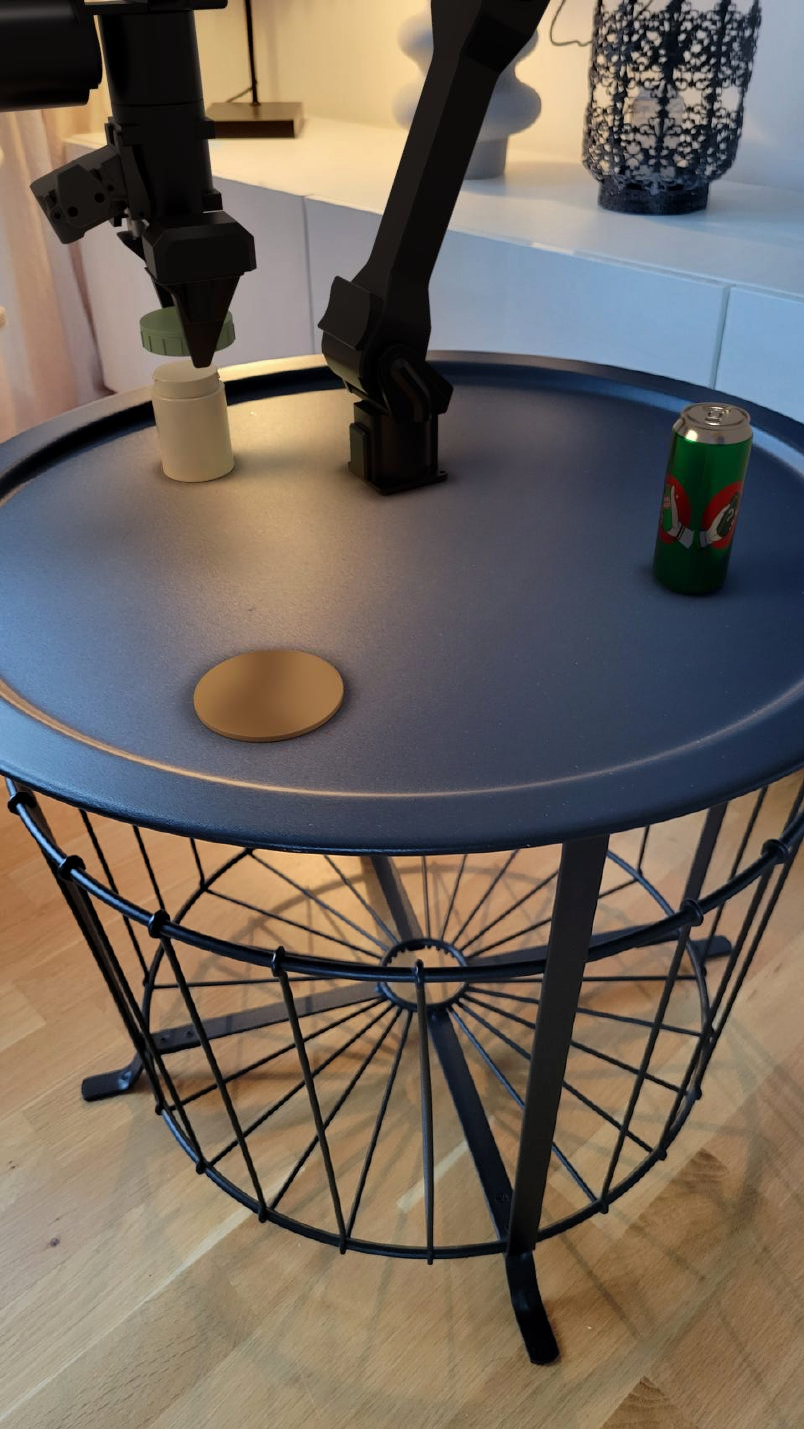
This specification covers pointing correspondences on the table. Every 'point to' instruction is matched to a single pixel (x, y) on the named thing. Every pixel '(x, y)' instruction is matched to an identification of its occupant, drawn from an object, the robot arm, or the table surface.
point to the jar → (191, 422)
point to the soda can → (701, 496)
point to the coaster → (268, 695)
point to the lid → (175, 333)
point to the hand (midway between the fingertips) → (191, 352)
